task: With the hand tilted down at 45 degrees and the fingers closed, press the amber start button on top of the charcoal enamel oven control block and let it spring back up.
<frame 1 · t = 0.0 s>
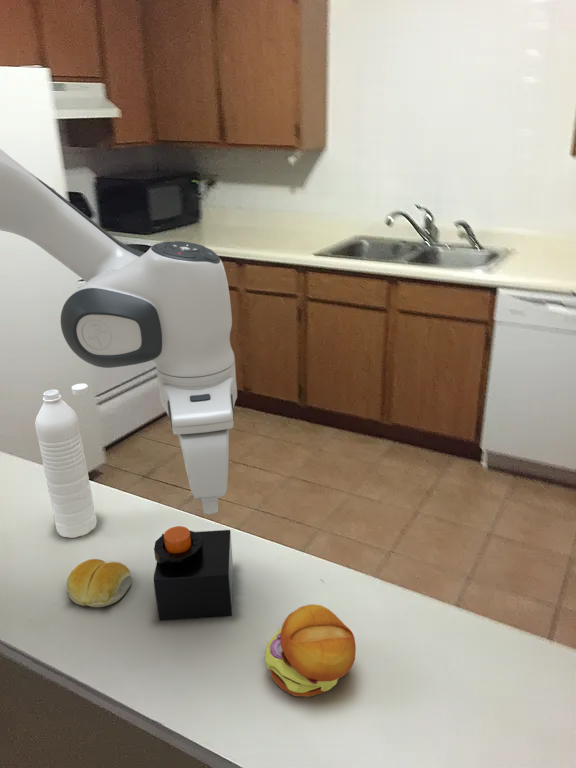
hand: (207, 488, 82), 22 cm above the countertop, tool pointing down, fingers open, 8 cm apart
oven button: (177, 539, 92), point 10 cm above the countertop, slide at 0.1 cm
oven control: (198, 593, 96), on the countertop
bread roll: (101, 590, 98), on the countertop
cheeseburger: (310, 672, 83), on the countertop
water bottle: (84, 526, 113), on the countertop
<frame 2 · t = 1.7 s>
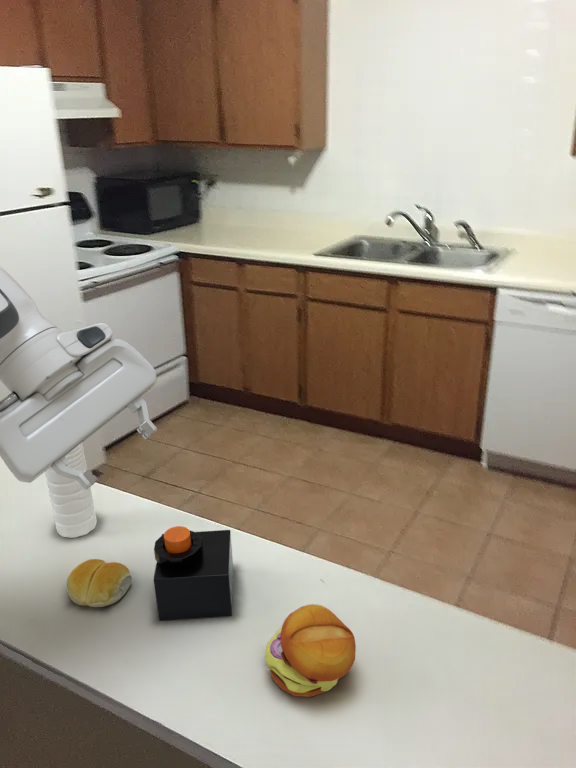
hand: (123, 459, 79), 27 cm above the countertop, tool tilted 45°, fingers open, 8 cm apart
nothing on the countertop moved.
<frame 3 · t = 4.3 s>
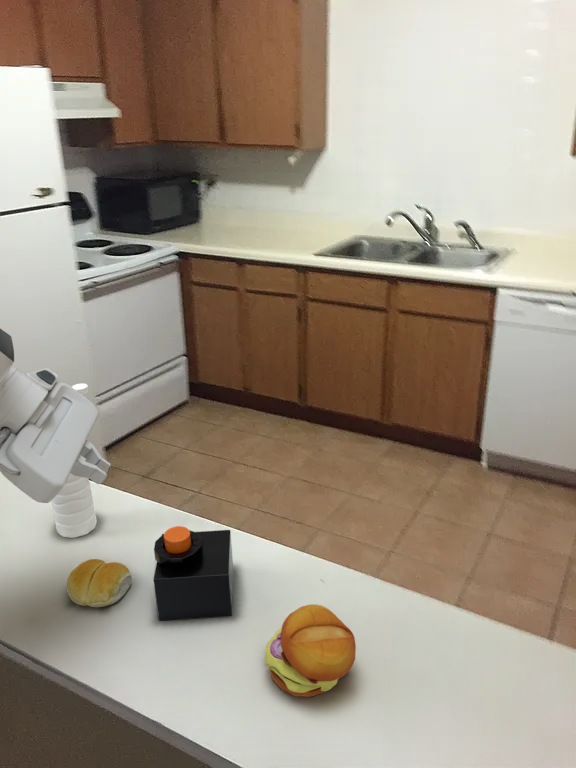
hand: (106, 475, 87), 21 cm above the countertop, tool tilted 45°, fingers closed
nothing on the countertop moved.
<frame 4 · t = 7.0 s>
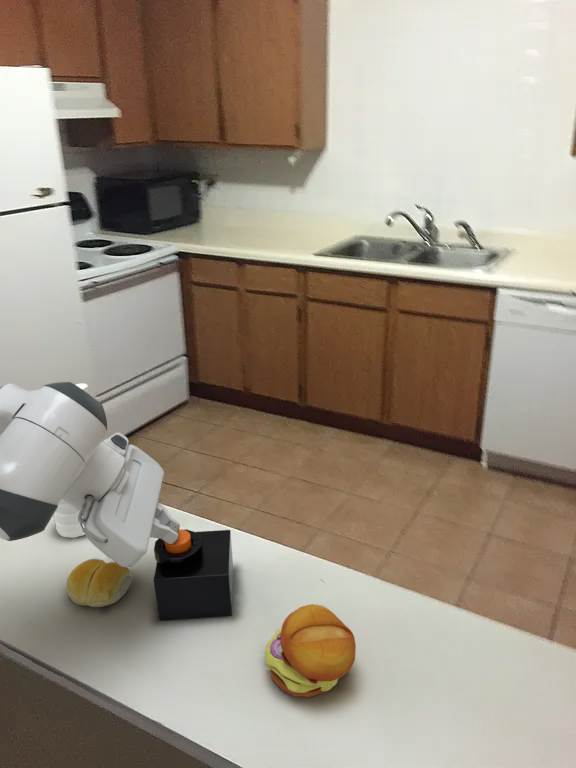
hand: (176, 534, 92), 11 cm above the countertop, tool tilted 45°, fingers closed, pressing on oven button
oven button: (178, 543, 93), point 9 cm above the countertop, slide at -0.5 cm, touching gripper
everything else where it was.
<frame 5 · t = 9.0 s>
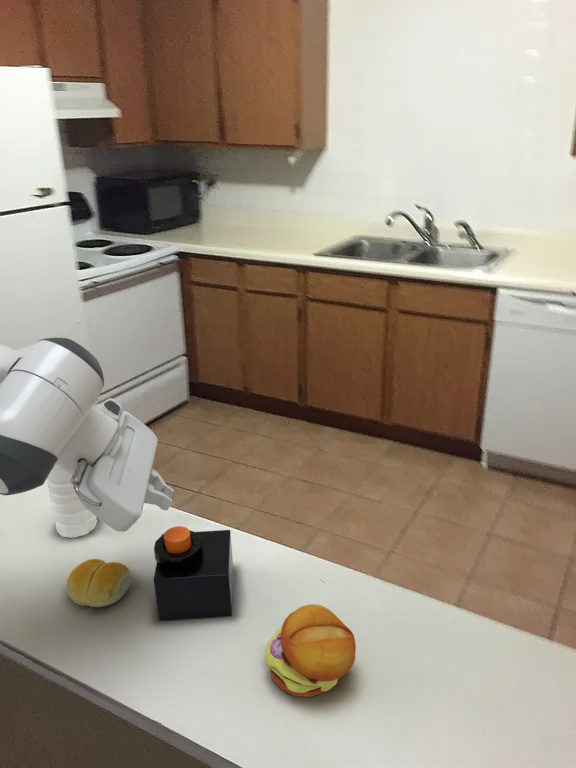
hand: (170, 501, 90), 16 cm above the countertop, tool tilted 45°, fingers closed
oven button: (177, 539, 92), point 10 cm above the countertop, slide at 0.1 cm
everything else where it was.
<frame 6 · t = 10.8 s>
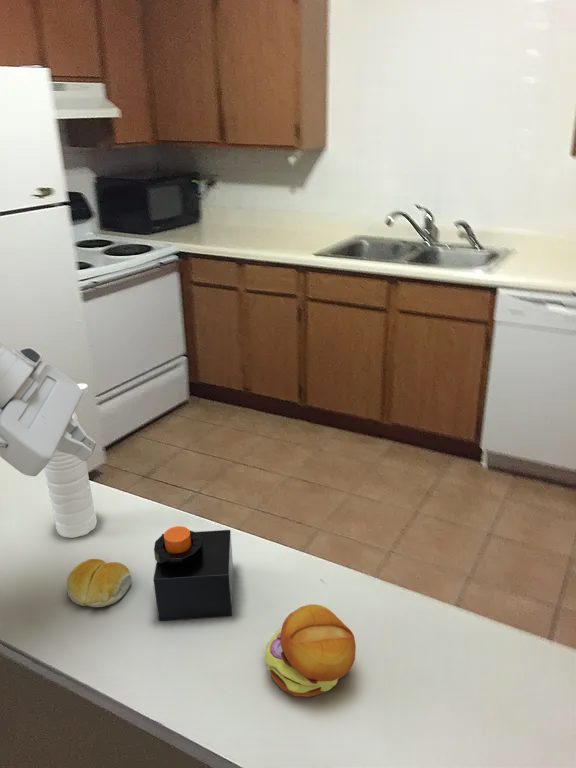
hand: (91, 452, 87), 24 cm above the countertop, tool tilted 45°, fingers closed
nothing on the countertop moved.
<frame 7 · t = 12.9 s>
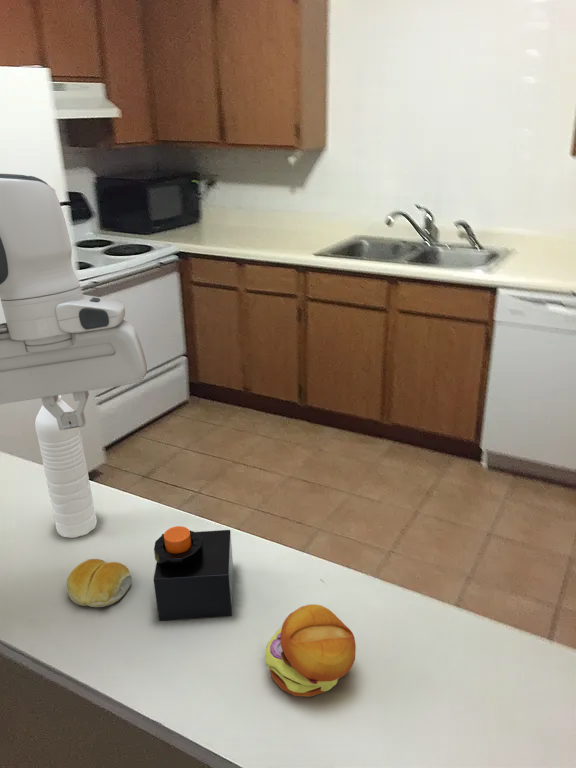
hand: (72, 427, 82), 29 cm above the countertop, tool pointing down, fingers closed
nothing on the countertop moved.
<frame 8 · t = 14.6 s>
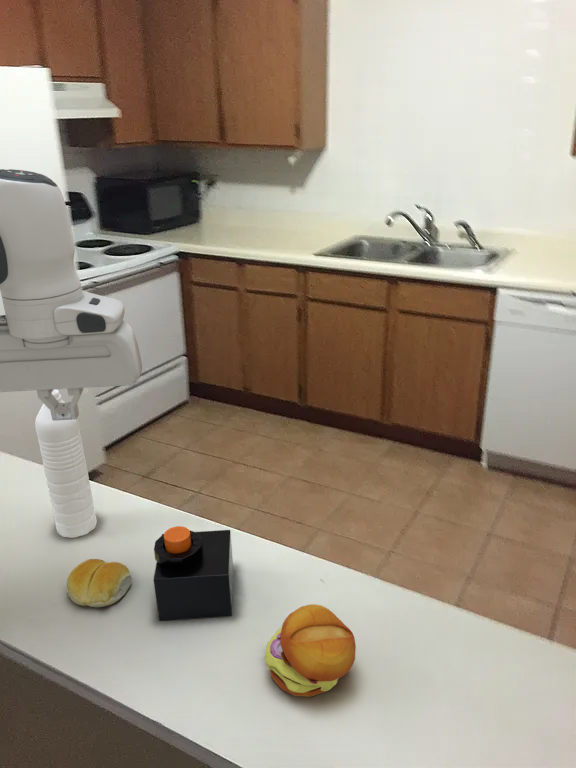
hand: (66, 418, 84), 29 cm above the countertop, tool pointing down, fingers closed
nothing on the countertop moved.
at the end: oven button pushed in 1.3 cm at the most during the clip, back to where it started at the end; oven button slide at 0.1 cm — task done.
